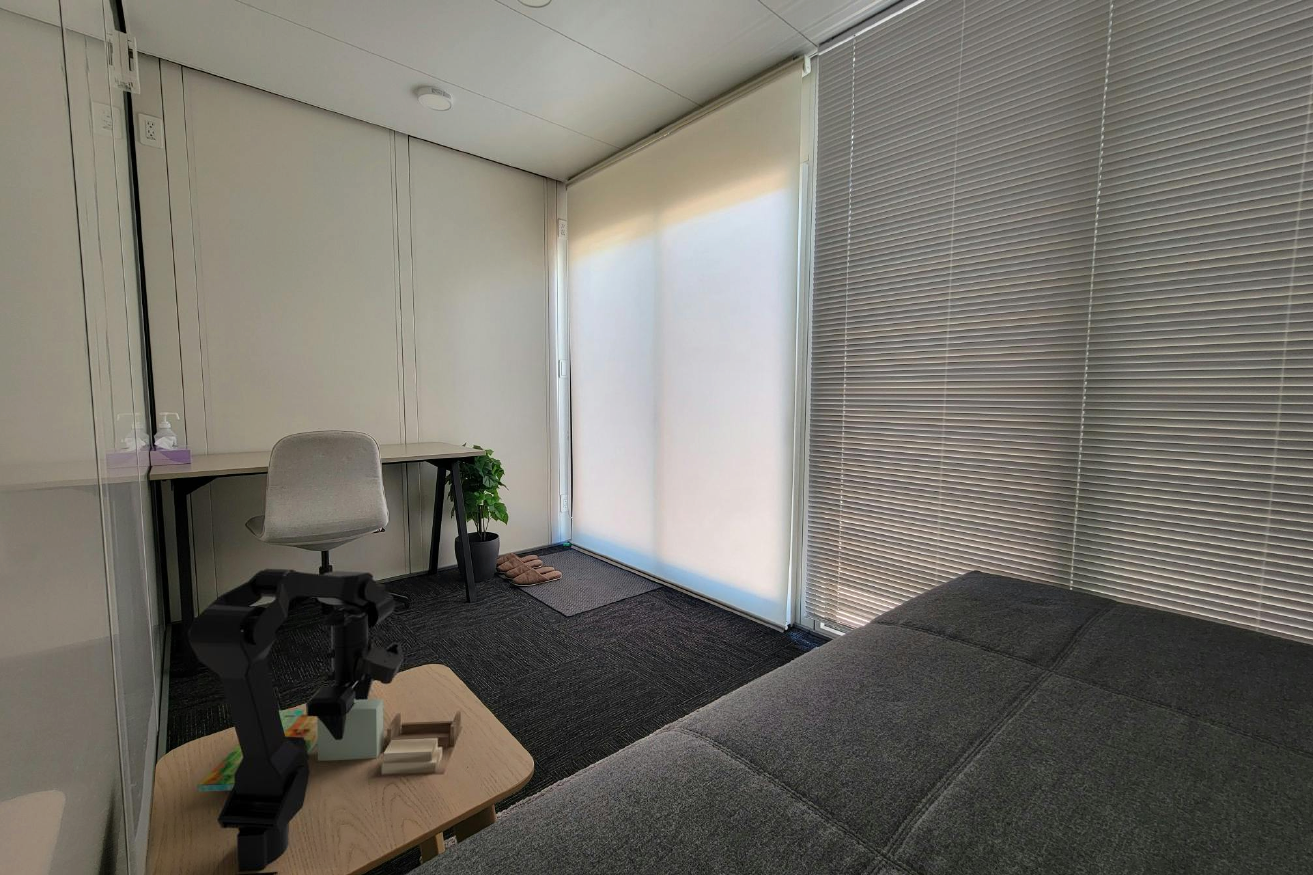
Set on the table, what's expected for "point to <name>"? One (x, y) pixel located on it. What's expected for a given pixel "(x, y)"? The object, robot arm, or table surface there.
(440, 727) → the rack
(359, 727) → the board
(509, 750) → the table surface
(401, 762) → the offcut stack
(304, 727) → the puzzle game
